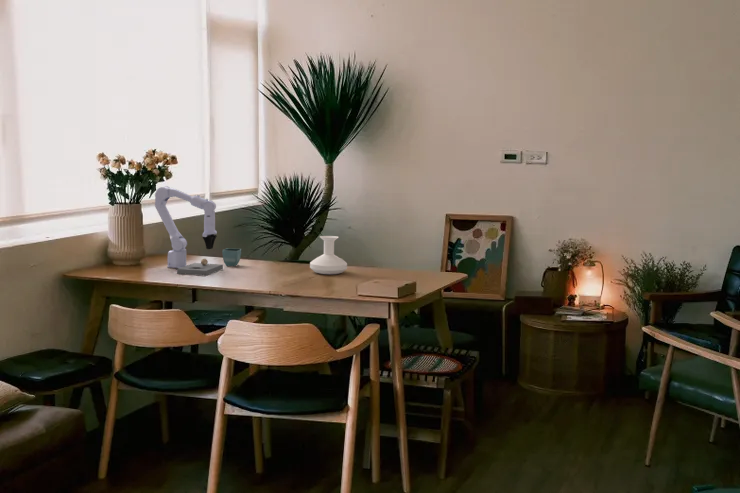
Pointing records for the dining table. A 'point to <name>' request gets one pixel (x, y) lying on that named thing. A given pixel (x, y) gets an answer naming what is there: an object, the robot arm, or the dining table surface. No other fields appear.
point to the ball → (204, 261)
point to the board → (199, 269)
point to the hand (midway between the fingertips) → (209, 248)
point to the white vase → (328, 259)
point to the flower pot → (231, 256)
